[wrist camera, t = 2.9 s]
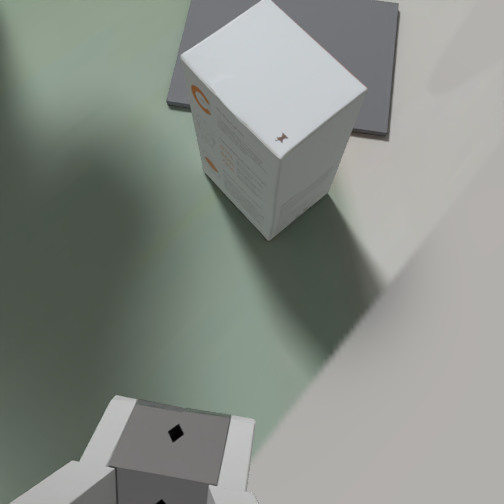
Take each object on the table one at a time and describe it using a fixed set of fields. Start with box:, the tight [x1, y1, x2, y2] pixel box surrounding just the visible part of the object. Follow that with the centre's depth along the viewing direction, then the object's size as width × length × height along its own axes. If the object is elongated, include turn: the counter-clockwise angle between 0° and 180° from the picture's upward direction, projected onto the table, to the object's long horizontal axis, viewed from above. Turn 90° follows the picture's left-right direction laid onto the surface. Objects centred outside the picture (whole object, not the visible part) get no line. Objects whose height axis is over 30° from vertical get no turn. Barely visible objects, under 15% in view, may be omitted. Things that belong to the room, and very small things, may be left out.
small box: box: [180, 0, 368, 241], centre depth 30 cm, size 8×6×13 cm
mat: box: [167, 0, 399, 136], centre depth 39 cm, size 18×13×1 cm
